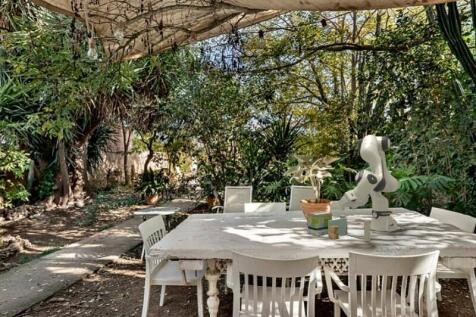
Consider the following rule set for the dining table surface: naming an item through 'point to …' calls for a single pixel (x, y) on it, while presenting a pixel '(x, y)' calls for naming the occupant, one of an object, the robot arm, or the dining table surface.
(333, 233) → the doorstop
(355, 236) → the threshold
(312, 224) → the tea box
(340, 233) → the door
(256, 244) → the dining table surface
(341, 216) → the hinge wall
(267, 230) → the dining table surface
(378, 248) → the dining table surface
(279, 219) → the dining table surface
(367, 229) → the jamb
